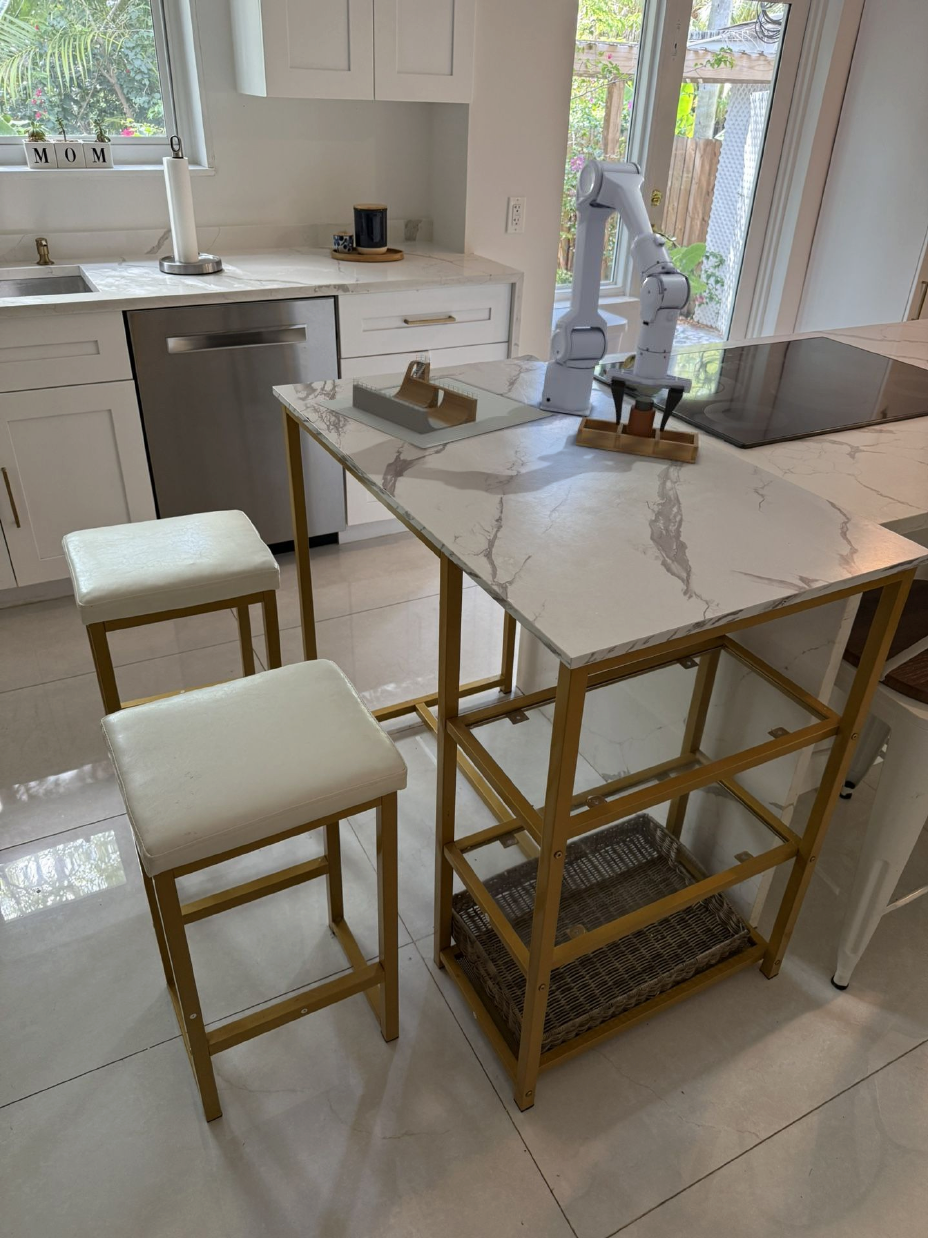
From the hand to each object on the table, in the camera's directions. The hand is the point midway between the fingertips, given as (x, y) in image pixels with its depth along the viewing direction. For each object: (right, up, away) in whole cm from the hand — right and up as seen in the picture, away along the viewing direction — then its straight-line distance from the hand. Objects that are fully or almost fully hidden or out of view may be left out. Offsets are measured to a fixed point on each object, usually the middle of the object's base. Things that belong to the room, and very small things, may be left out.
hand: (639, 426), depth 155 cm
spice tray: (0, -3, +2) cm, 4 cm away
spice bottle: (0, -3, +1) cm, 3 cm away
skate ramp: (-36, +6, +12) cm, 39 cm away
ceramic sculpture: (+7, +16, +36) cm, 40 cm away
